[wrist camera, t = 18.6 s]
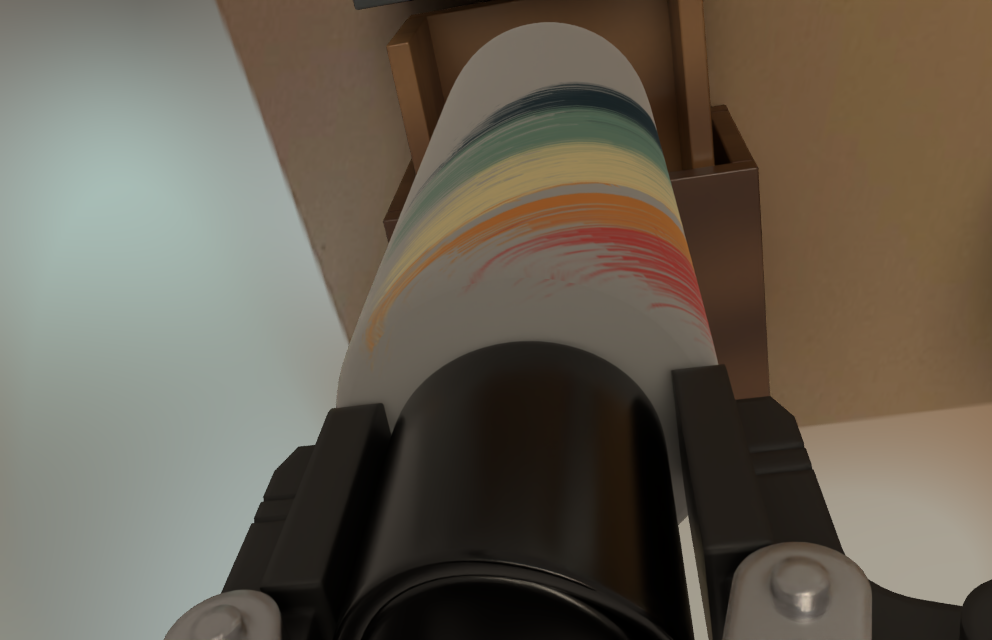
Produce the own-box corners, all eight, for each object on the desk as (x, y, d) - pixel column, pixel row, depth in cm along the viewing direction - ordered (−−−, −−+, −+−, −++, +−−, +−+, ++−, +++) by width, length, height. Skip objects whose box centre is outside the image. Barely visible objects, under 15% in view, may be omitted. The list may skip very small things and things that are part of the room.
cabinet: (413, 151, 40) (382, 220, 33) (726, 104, 38) (758, 166, 32) (467, 388, 46) (450, 487, 39) (742, 357, 44) (773, 456, 37)
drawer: (339, -226, 33) (296, -232, 28) (684, -301, 31) (706, -322, 26) (438, 217, 41) (419, 276, 35) (718, 177, 39) (740, 233, 34)
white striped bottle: (562, 249, 28) (554, 965, 11) (408, 136, 27) (118, 752, 10) (692, 104, 26) (944, 725, 9) (530, -28, 25) (439, 393, 7)
